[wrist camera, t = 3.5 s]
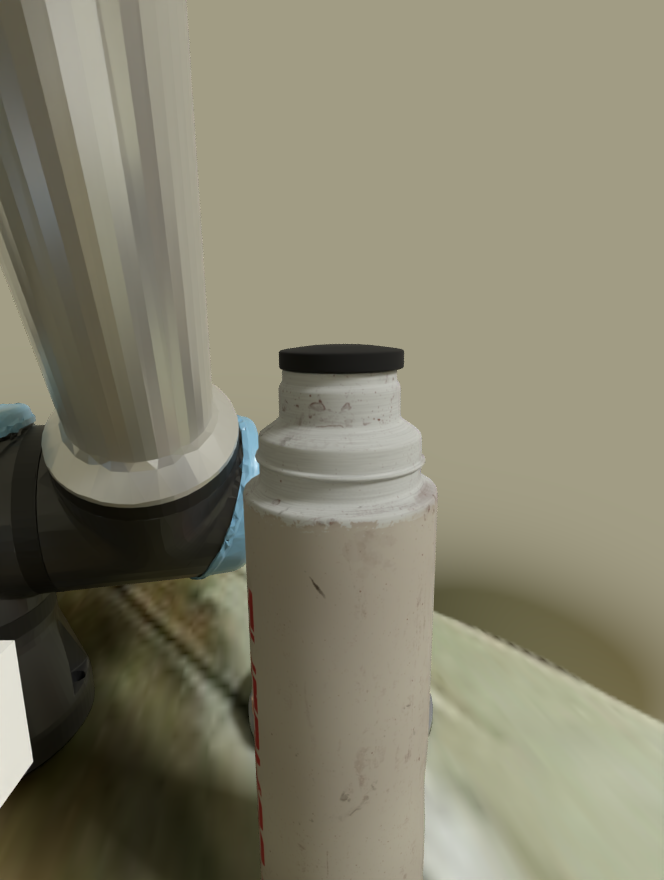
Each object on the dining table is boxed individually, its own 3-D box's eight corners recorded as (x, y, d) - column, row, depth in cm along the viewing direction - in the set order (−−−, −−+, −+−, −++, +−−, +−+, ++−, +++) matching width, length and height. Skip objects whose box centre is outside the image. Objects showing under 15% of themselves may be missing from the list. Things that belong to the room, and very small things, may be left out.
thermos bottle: (237, 974, 23) (196, 349, 17) (291, 815, 31) (277, 341, 25) (414, 1028, 21) (439, 350, 15) (425, 845, 29) (446, 341, 23)
